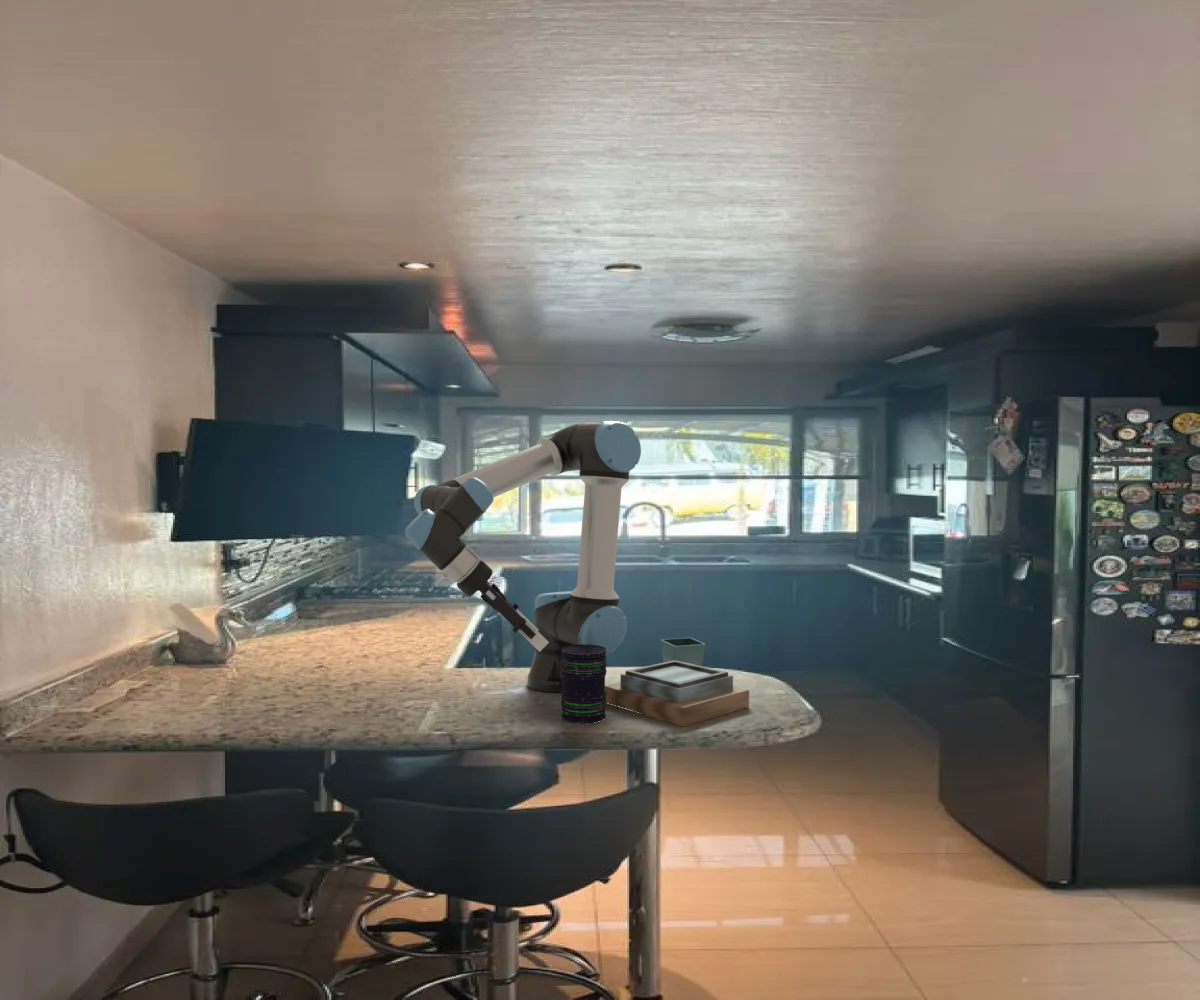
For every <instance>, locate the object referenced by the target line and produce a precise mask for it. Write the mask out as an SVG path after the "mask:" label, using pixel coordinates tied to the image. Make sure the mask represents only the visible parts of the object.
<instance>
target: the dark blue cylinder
mask: <svg viewBox="0 0 1200 1000" xmlns="http://www.w3.org/2000/svg"><path fill="white" fill-rule="evenodd" d="M607 663H608V662H607V654H606V648H604V647H602V646H597V645H571V646H566V647H563V648H562V660H561V667H562V670H561V672H562V676H563V691H562V692H560V693H561V695H560V696H561V700H560V707H561V715H560V716H561V717H562V718H561V717H560V718H561V720H562V719H563V720H562V721H564V720H565V721H564V722H566V721H567V722H566V723H569V722H572V723H571V724H575V723H579V724H578V725H587V724H586V723H592V724H595V723H594V722H598V721H601V720H603V719H605V718H606V719H607V714H606V711H607V704H606V692H605V686H606V675H607ZM606 719H605V720H606ZM601 722H602V721H601ZM598 723H599V722H598Z"/></svg>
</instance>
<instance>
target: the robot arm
mask: <svg viewBox="0 0 1200 1000" xmlns="http://www.w3.org/2000/svg"><path fill="white" fill-rule="evenodd" d="M641 455H642V446H641V441H640V438H639V437H638V434H637V433H636V432H635V430H634V429H633V427H632V426H630V425H629V424H627V423H625V422H622V421H616V420H615V421H613V420H604V421H603V420H602V421H585V422H584V421H583V422H578V423H574V424H571V425H569V426H565V427H564V428H562V429H560V430H557V431H555V432H553V433H550V434H549V435H548V434H547V435H546V436H544V437H542V438H540V439H538V441H537V442H536V444H534V445H533V446H530V447H528V448H526V449H523V450H521V451H518V452H516V453H513V454H511V455H508V456H506V457H503V458H501V459H498V460H496V461H493V462H491V463H489V464H487V465H484V466H481V467H479V468H475V469H474V470H470V471H469V472H467V473H464V474H461V475H459V476H457V477H454V478H452V479H450V480H449V479H448V480H447V481H446V480H445V481H443V482H442V483H441V482H440V483H438V484H431V485H430V484H429V485H426V486H423V487H421V488H419V489H418V491H417V492H416V494H415V495H414V499H413V505H414V509H415V511H416V513H417V514H418V515H417V516H416V517H415V518H414V519H413V520H412V521H411V522H410V523H409V524H408V525H407V527H406V528H405V530H404V535H405V537H406V538H407V539H408V540H409V541H410V543H411V544H412V545H413V546H414V547H415V548H416V550H417V551H419V552H420V553H421V554H423V556H424V557H426V559H428V560H429V561H430V562H431V564H434V566H435V567H437V569H438V570H440V571H441V572H442V578H443V579H446V578H448V579H449V580H450V581H451V582H452V583H454V584H455V583H456V587H457V588H458V589H459V590H460V591H461V592H462V593H463V594H465V596H467V597H472V596H473V595H475V594H477V592H480V593H481V595H480V598H481V599H482V601H484V603H486V604H487V605H489V606H490V607H491V608H492V609H493V610H495V611H496V612H499V614H500V615H502V617H504V619H506V620H507V621H508V622H509V624H511V626H513V629H512V632H514V633H515V634H516V633H517V632H518V633H519V634H521V636H523V637H524V639H526V640H527V641H528V642H529V643H530V644H531V645H532V646H533V647H534V655H533V659H532V662H531V665H530V670H529V673H528V675H527V687H528V688H530V689H532V690H535V691H539V692H543V693H544V692H545V693H546V692H547V693H562V691H563V676H562V672H561V670H562V667H561V660H562V648H563V647H566V646H571V645H597V646H602V647H604V648H606V655H608V654H611V653H612V652H614V651H615V650H617V647H619V646H621V644H622V643H623V641H624V639H625V637H626V634H627V628H628V623H627V618H626V616H625V615H624V612H623V610H621V608H619V606H620V596H619V595H618V593H617V592H616V591H615V588H614V587H615V575H616V561H617V560H616V559H617V549H618V536H619V524H620V523H619V522H620V511H621V497H622V488H623V487H624V486H625V485H626V484H627V483H628V482H629V481H630V480H629V479H630V472H631V470H633V469H635V467H636V465H638V463H639V461H640V458H641ZM571 471H573V472H575V471H579V479H580V480H581V481H582V482H583V483H584V494H583V495H584V497H583V498H584V499H583V508H582V518H581V519H582V521H581V533H580V545H579V557H578V569H577V582H576V583H577V584H576V585H577V586H575V588H574V589H573V590H568V591H567V590H566V591H554V592H553V591H552V592H545V593H540V594H538V595H536V597H535V600H534V608H533V611H534V623H532V622H531V621H530V620H529V619H528V618H527V617H526V616H525V615H524V614H523V613H522V612H521V611H520V610H519V609H518V608H519V605H518V604H517V603H514V604H513V603H512V602H510V601H509V600H508V598H507V597H506V596H505V595H504V593H503V592H502V591H501V589H500V588H499V587H498V586H497V585H496V584H495V582H493V583H492V584H491V583H490V582H489V580H490V579H491V578H492V576H493V573H494V571H493V569H492V568H491V567H490V566H489V565H488V564H487V563H486V562H484V561H483V560H480V559H479V558H480V556H479V555H478V554H477V553H475V551H474V550H473V549H472V548H471V547H470V546H469V545H467V544H466V543H465V542H464V541H463V540H462V539H461V538H462V537H463V536H464V534H466V532H467V531H469V529H470V528H471V527H472V526H473V525H474V524H475V523H476V522H477V521H478V520H479V518H481V517H482V516H483V515H484V513H486V512H487V510H488V509H489V507H490V506H491V505H492V503H493V502H494V498H496V497H499V496H501V495H503V494H504V493H507V492H510V491H512V490H515V489H516V488H519V487H521V486H522V487H523V486H524V485H526V484H528V483H531V482H533V481H536V480H539V479H541V478H543V477H545V476H547V475H550V476H558V475H561V474H562V473H567V472H571Z"/></svg>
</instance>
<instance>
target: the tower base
mask: <svg viewBox="0 0 1200 1000" xmlns="http://www.w3.org/2000/svg"><path fill="white" fill-rule="evenodd" d="M605 692H606V703H609V704H613V705H616V706H620V707H623V708H627V709H630V710H633V711H636V712H639V713H642V714H645V715H648V716H647V717H649V716H651V717H650V718H652V717H655V718H654V719H656V718H657V719H656V720H659V719H661V720H660V721H662V720H664V721H663V722H666V721H667V722H666V723H669V722H670V724H673V725H676V726H680V727H686V726H691V725H693V724H697V723H701V722H703V721H707V719H708V720H711V719H714V718H718V717H721V716H724V714H725V715H728V714H731V713H734V711H735V712H738V711H741V709H742V710H745V709H747V708H748V707H750V690H749V689H747V688H742V687H738V686H734V675H730V674H729V672H728V671H724V670H719V669H716V668H711V667H708V666H703V665H701V666H698V665H694V664H690V663H685V662H681V661H676V660H673V661H668V662H664V661H663V662H659V663H657V664H656V663H654V664H651V665H646V666H645V665H644V666H642V667H641V666H640V667H637V668H633V669H628V670H625V673H624V672H623V673H621V674H620V682H618V683H614V684H609V685H605ZM744 708H745V709H744ZM639 713H638V714H639ZM727 713H728V714H727ZM642 714H641V715H642ZM645 715H644V716H645ZM717 716H718V717H717ZM710 718H711V719H710Z"/></svg>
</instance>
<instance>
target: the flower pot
mask: <svg viewBox="0 0 1200 1000" xmlns="http://www.w3.org/2000/svg"><path fill="white" fill-rule="evenodd" d="M660 643H661V644H660V645H661V646H660V647H661V654H662V659H663V660H662V661H663V663H664V662H668V661H673V660H676V661H681V662H685V663H690V664H694V665H698V666H703V662H704V657H705V656H704V655H705V650H706V649H705V648H706V643H705V642H702V641H700V640H697V639H695V638H692V637H681V638H679V637H678V638H664V639H660Z"/></svg>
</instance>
